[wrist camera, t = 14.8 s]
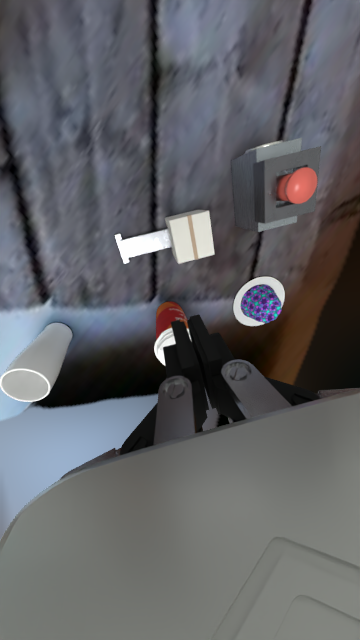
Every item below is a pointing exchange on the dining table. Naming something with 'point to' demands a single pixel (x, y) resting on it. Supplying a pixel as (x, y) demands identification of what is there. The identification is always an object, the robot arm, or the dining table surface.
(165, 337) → the paper cup
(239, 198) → the cabinet
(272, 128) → the dining table surface
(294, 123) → the dining table surface
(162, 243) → the rail
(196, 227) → the white taped box
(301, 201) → the button
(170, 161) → the dining table surface
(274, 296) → the purple patterned hat
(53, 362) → the drinking glass
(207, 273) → the dining table surface
